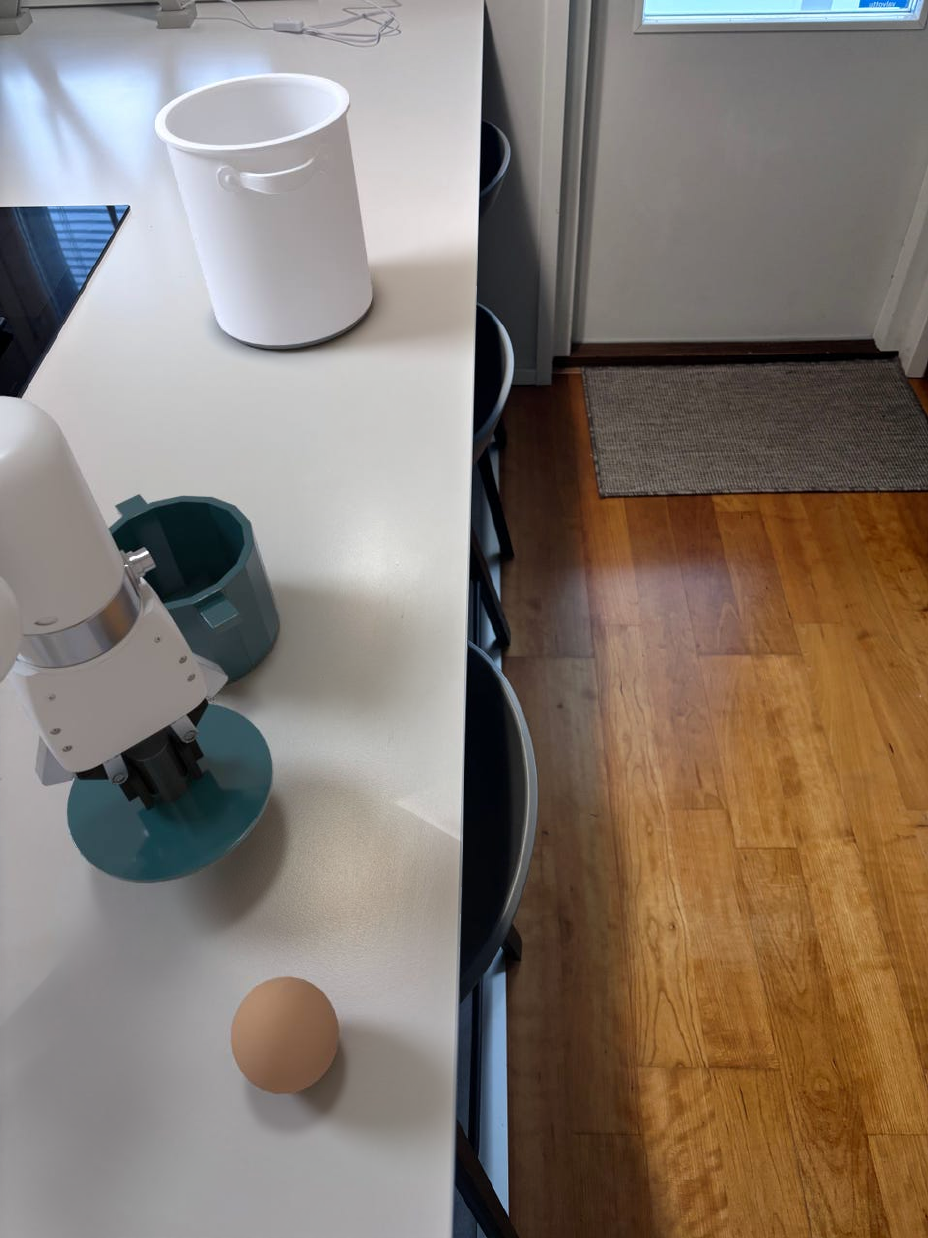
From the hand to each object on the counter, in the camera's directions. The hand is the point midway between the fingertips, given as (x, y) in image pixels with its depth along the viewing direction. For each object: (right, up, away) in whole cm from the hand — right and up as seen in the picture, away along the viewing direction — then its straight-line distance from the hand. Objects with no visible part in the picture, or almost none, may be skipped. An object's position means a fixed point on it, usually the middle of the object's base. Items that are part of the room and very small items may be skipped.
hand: (166, 779), depth 67 cm
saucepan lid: (0, -1, +1) cm, 1 cm away
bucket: (-1, +51, +56) cm, 76 cm away
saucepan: (-3, +10, +19) cm, 22 cm away
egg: (+10, -17, -6) cm, 21 cm away
